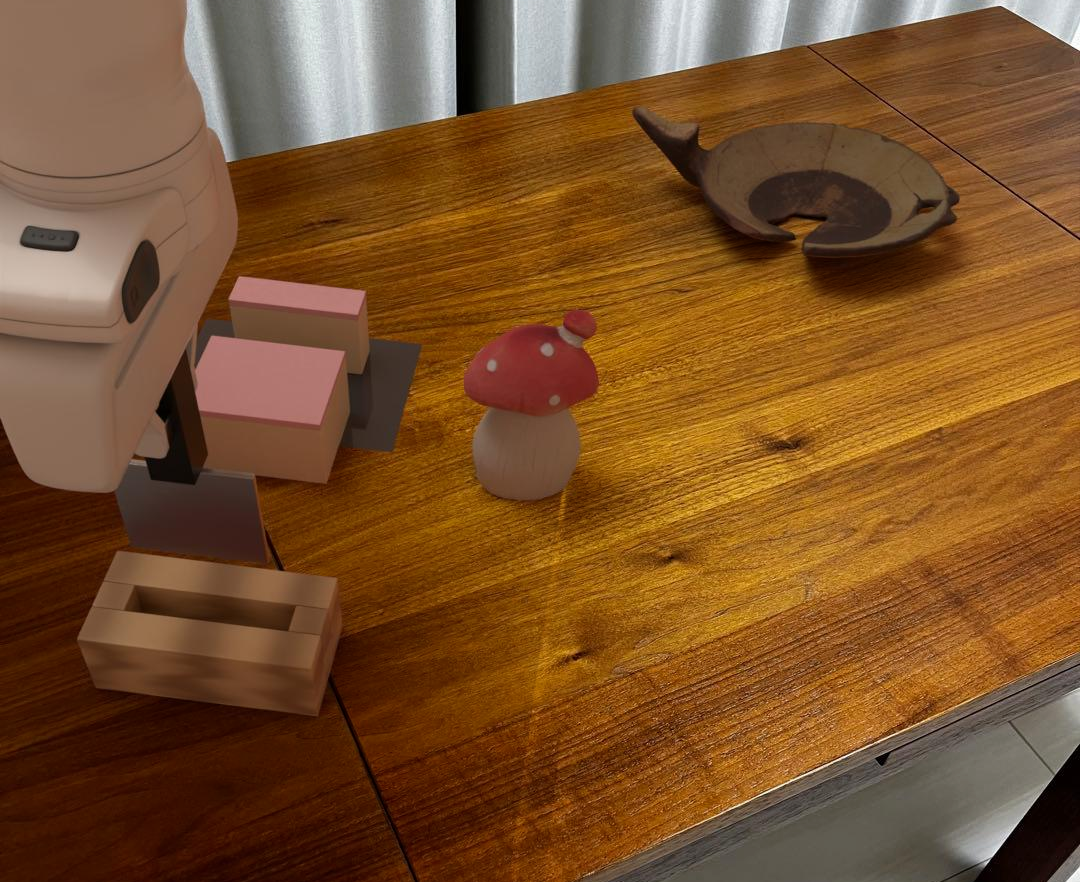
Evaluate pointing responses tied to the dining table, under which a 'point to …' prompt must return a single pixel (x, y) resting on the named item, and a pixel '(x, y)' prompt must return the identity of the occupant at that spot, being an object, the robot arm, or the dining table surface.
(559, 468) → the decorative ornament
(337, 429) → the cake
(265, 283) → the cake slice
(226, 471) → the knife
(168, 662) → the knife block
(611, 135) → the dining table surface
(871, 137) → the broken brown bowl
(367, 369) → the cake board
